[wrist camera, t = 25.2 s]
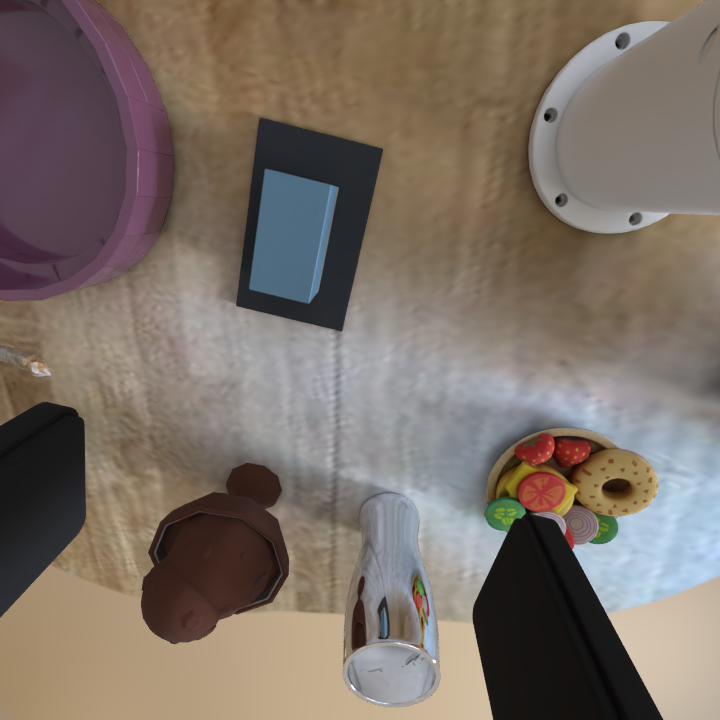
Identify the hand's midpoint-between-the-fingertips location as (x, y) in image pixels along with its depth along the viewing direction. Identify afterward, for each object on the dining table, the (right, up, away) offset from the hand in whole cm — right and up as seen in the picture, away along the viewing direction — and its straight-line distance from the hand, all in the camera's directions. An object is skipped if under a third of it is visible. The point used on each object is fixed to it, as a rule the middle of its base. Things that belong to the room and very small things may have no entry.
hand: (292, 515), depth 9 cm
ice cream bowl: (-9, -9, +32) cm, 35 cm away
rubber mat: (-3, +13, +23) cm, 27 cm away
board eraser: (-3, +13, +23) cm, 27 cm away
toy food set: (+20, -8, +30) cm, 37 cm away
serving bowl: (-23, +20, +22) cm, 37 cm away
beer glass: (+4, -12, +33) cm, 35 cm away
